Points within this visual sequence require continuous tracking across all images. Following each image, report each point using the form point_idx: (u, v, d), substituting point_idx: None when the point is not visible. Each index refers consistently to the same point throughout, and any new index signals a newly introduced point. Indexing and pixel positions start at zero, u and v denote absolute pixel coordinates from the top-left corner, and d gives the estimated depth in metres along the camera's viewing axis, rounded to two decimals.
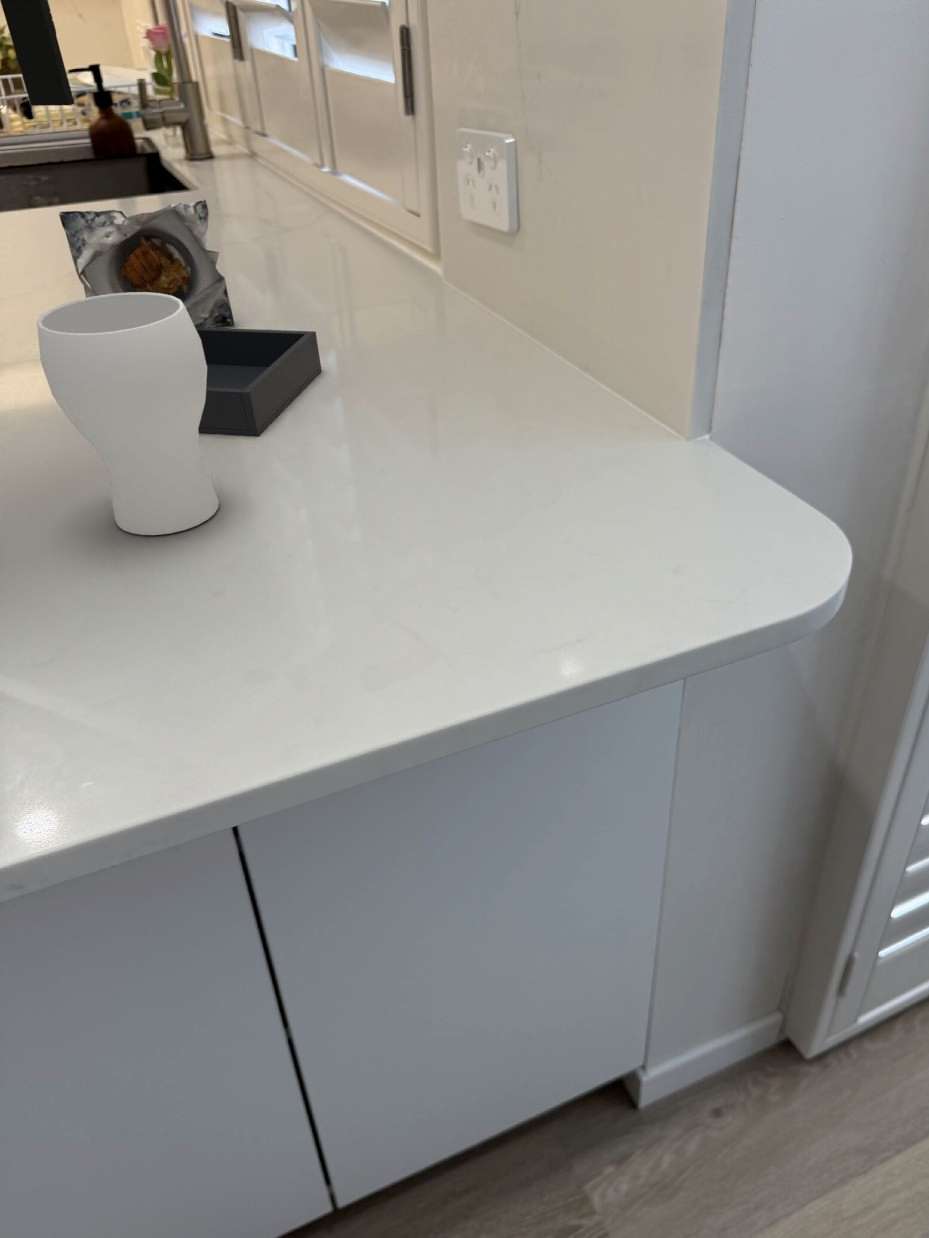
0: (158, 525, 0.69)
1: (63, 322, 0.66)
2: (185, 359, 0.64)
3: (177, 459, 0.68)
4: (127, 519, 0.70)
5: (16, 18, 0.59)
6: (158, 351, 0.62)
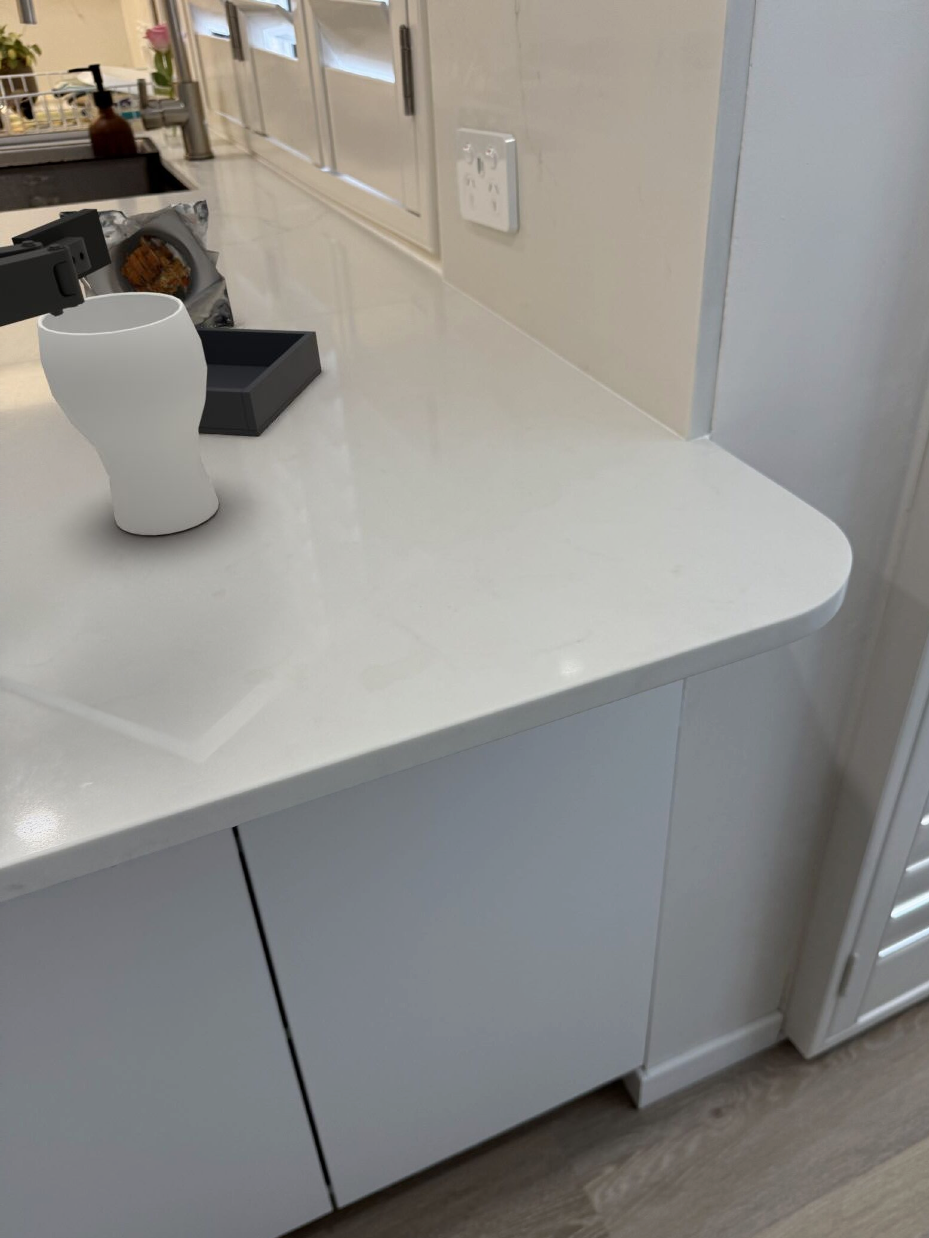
0: (158, 525, 0.69)
1: (63, 322, 0.66)
2: (185, 359, 0.64)
3: (177, 459, 0.68)
4: (127, 519, 0.70)
5: None
6: (158, 351, 0.62)
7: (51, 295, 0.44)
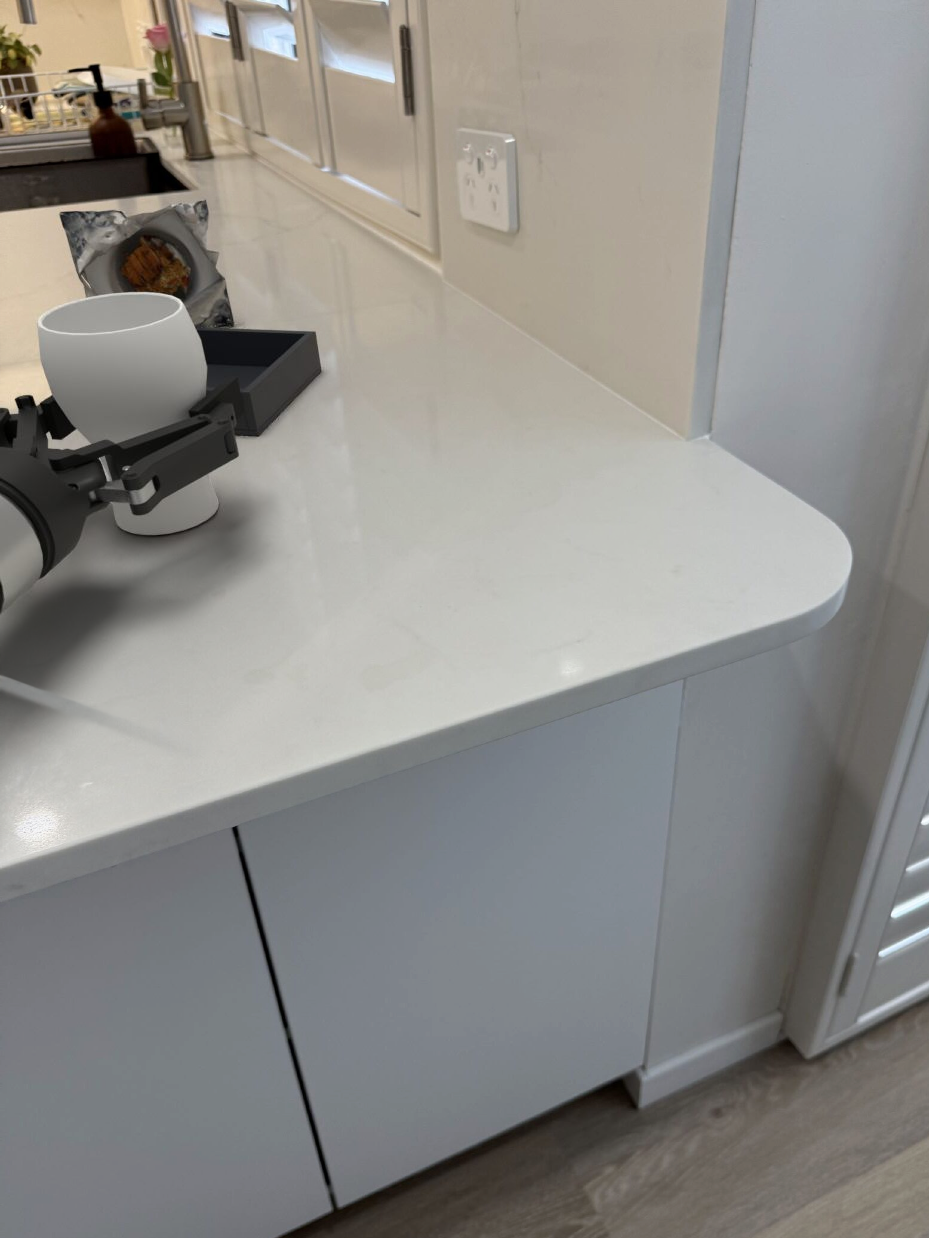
0: (158, 525, 0.69)
1: (63, 322, 0.66)
2: (185, 359, 0.64)
3: None
4: (127, 519, 0.70)
5: None
6: (158, 351, 0.62)
7: (222, 454, 0.63)
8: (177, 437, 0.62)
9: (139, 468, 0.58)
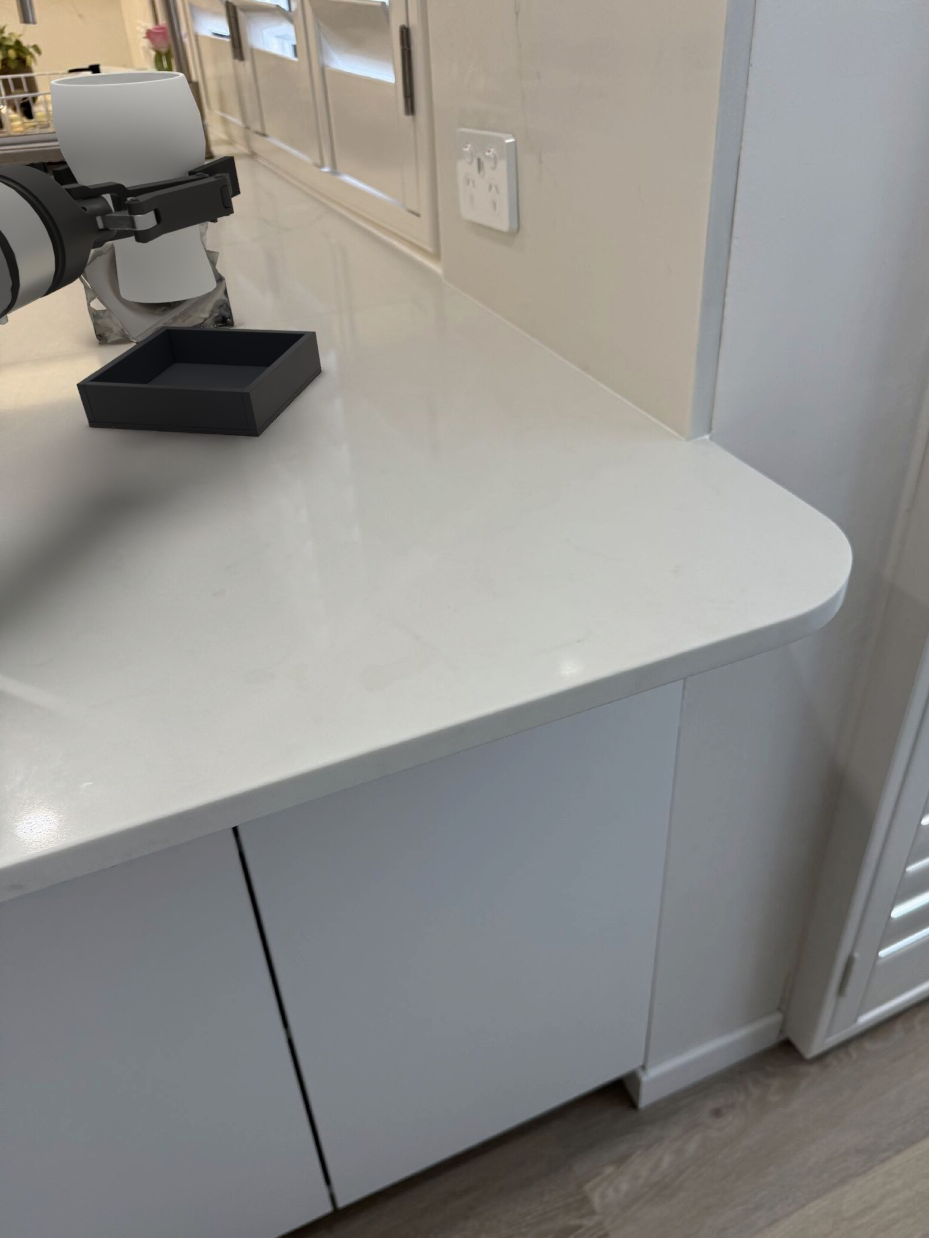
0: (160, 293, 0.75)
1: None
2: (185, 121, 0.69)
3: None
4: (131, 287, 0.75)
5: None
6: (160, 108, 0.68)
7: (218, 206, 0.69)
8: None
9: (142, 198, 0.63)
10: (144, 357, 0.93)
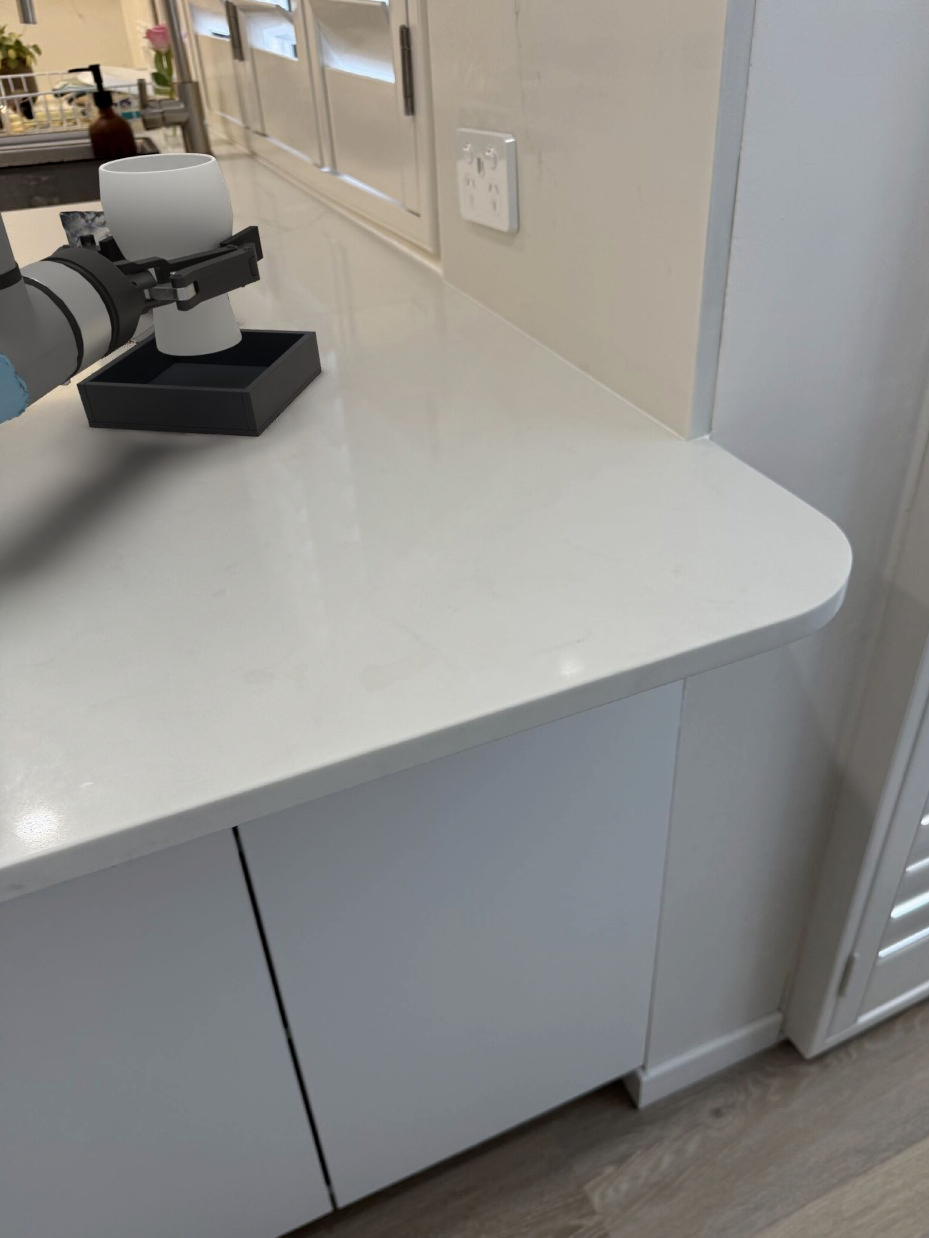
0: (193, 347, 0.85)
1: None
2: (217, 200, 0.79)
3: None
4: (168, 342, 0.85)
5: None
6: (196, 190, 0.77)
7: (247, 275, 0.78)
8: None
9: (183, 273, 0.73)
10: (144, 357, 0.93)
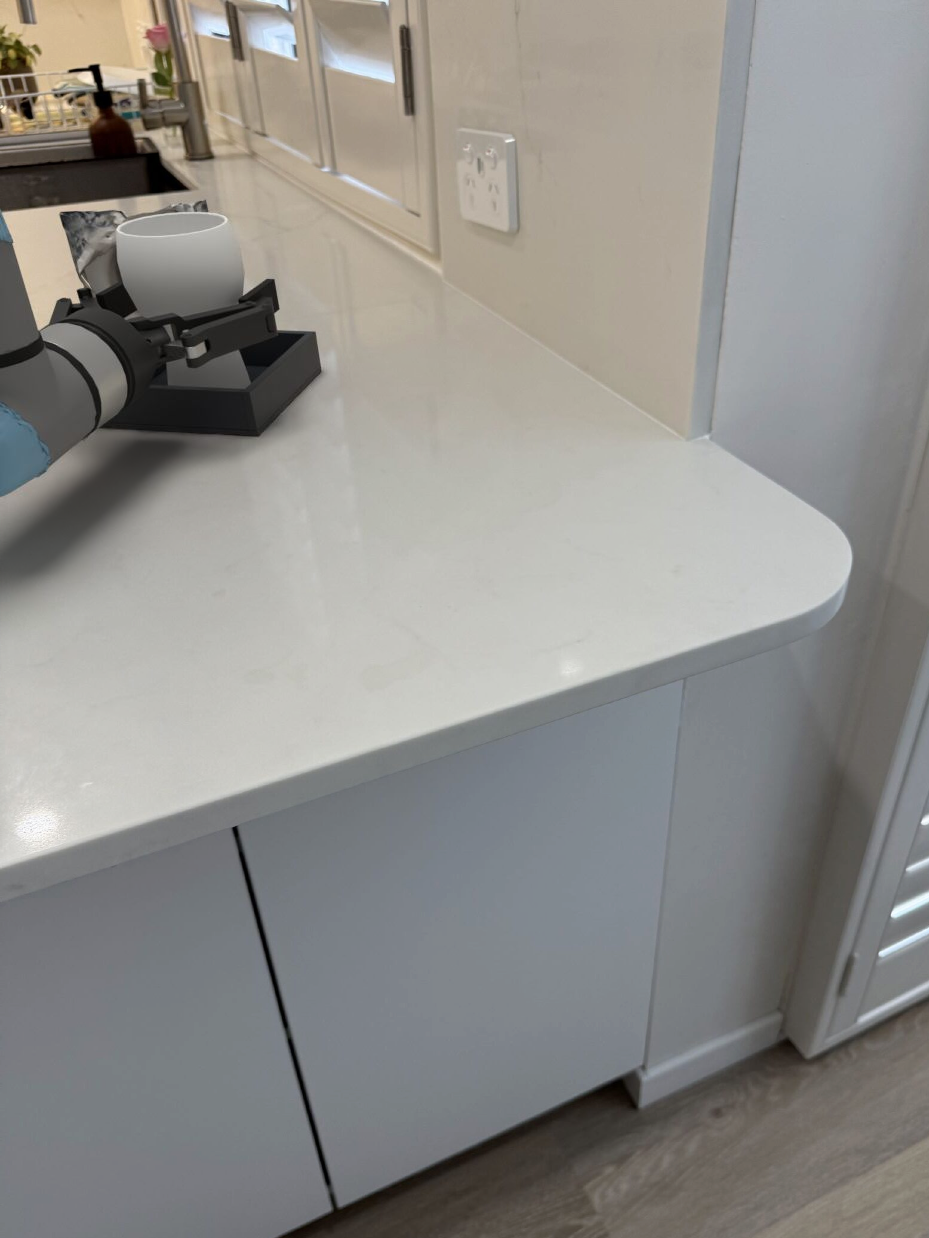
0: None
1: (133, 234, 0.84)
2: (229, 260, 0.82)
3: None
4: None
5: None
6: (209, 252, 0.80)
7: (263, 331, 0.80)
8: (228, 316, 0.80)
9: (195, 331, 0.75)
10: None
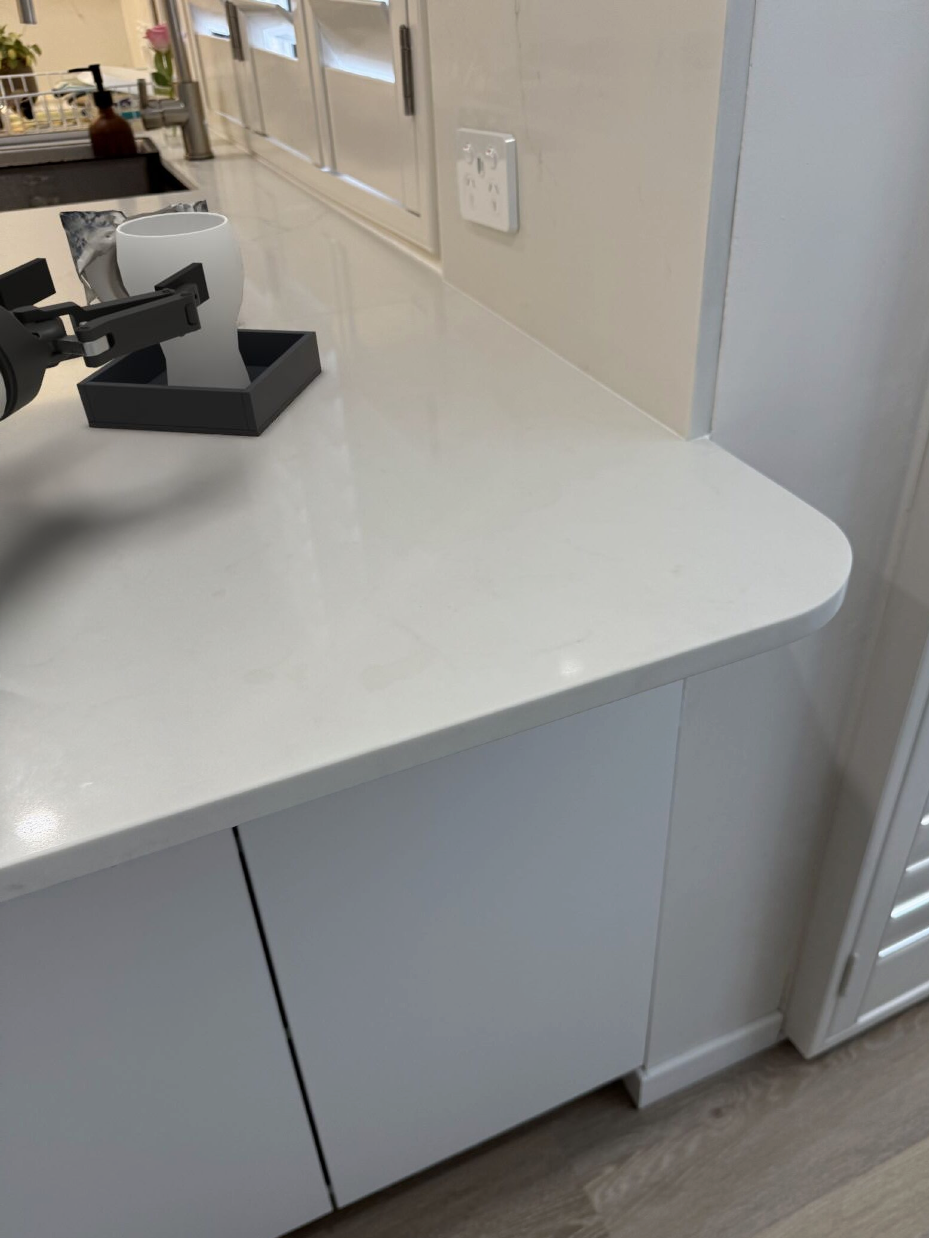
0: None
1: (133, 234, 0.84)
2: (229, 260, 0.82)
3: (221, 343, 0.86)
4: None
5: None
6: (209, 252, 0.80)
7: (182, 324, 0.68)
8: None
9: (94, 324, 0.63)
10: (144, 357, 0.93)
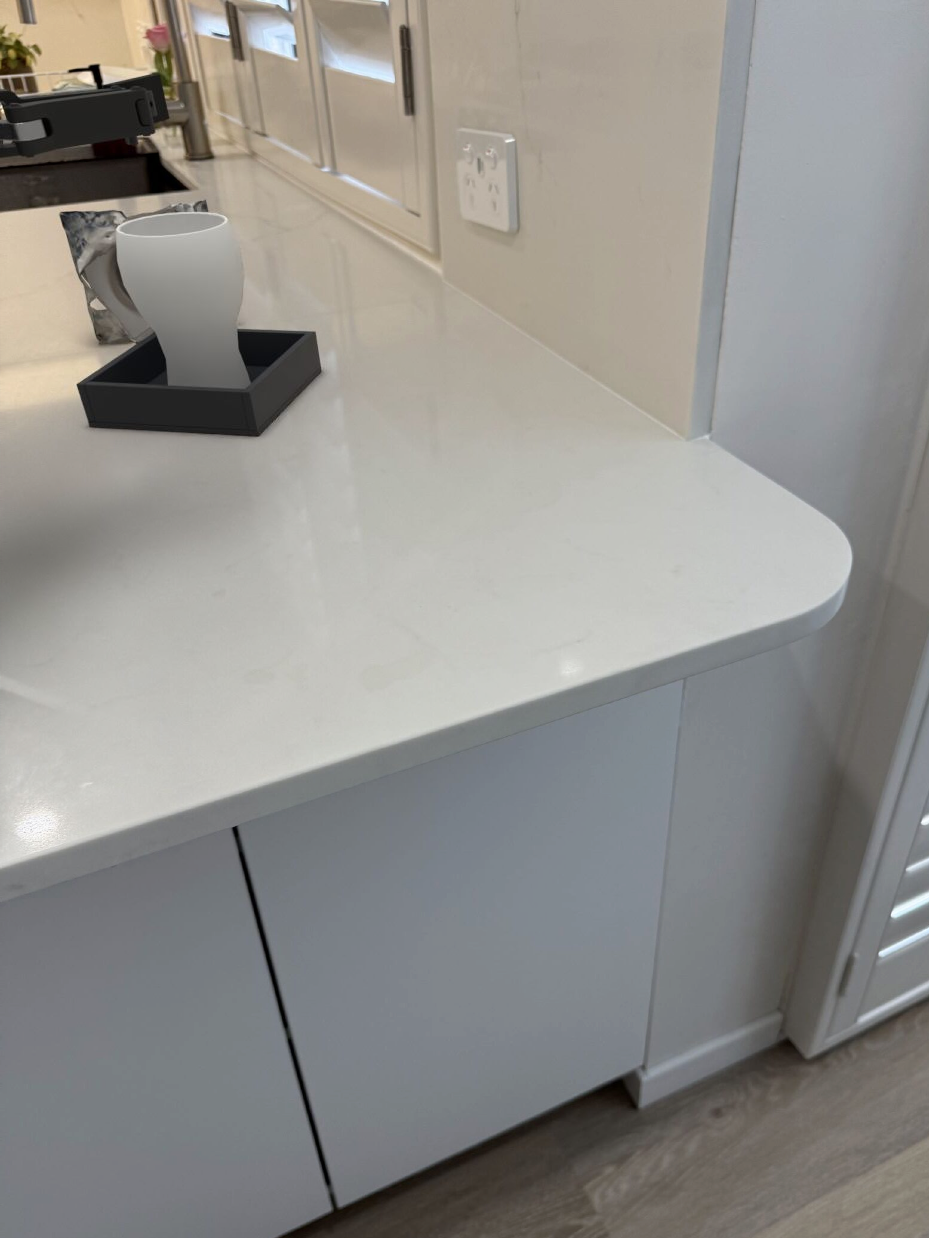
0: None
1: (133, 234, 0.84)
2: (229, 260, 0.82)
3: (221, 343, 0.86)
4: None
5: None
6: (209, 252, 0.80)
7: (133, 123, 0.60)
8: None
9: (27, 104, 0.55)
10: (144, 357, 0.93)
